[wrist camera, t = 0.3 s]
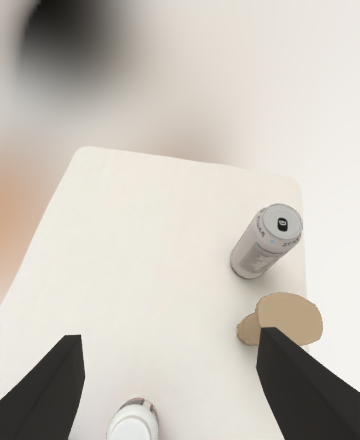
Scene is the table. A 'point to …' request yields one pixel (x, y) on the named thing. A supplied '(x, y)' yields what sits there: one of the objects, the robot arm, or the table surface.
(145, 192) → the table surface
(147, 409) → the pill bottle
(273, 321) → the handle
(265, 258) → the energy drink can
